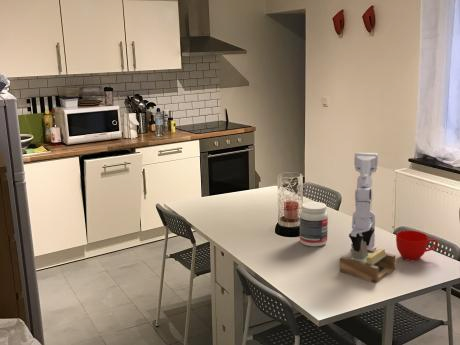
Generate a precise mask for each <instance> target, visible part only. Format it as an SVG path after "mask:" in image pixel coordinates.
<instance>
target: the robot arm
mask: <svg viewBox="0 0 460 345" xmlns="http://www.w3.org/2000/svg"><path fill="white" fill-rule="evenodd" d="M378 156H379V154H378V153H377V152H357V151H356V152H354V169H355V170H354V171H356V172H358V173H359V176H358V177H357V181H356V182H357V183H356V188H355V191H354V204H355V205H354V206H355V211H353V213H352V220H351V229H352V230H351V231H350V233H349V234H348V237H349V239H350V240H351V244H353V248H354V251H357V252H359V251H360V246H361V242H362V241H365V242H366V245H367V248H371V249H374V250H376V249H377V246H375V242H376V241H375V240H376V239H375V238H376V234H375V228H376V226H375V225H376V215H375V212H374V211H372V210H371V202H372V199H373V189H372V188H373V186H372V181H373V180H372V178H371V177H372V175H373V173H375V172H377V169H378V164H379V163H378V159H379V157H378ZM350 250H351V251H352V247H350Z"/></svg>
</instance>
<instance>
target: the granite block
mask: <svg viewBox="0 0 460 345" xmlns="http://www.w3.org/2000/svg"><path fill="white" fill-rule="evenodd" d="M350 246H351V247H350V248H352V250H351V252H352V258H357V259H364V258H365V257H367V256H368V252H367V245H366V242H365V241H362V242H361V246H360V251H359V252H357V251H354V248H353V244H352V243H351V244H350Z"/></svg>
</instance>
